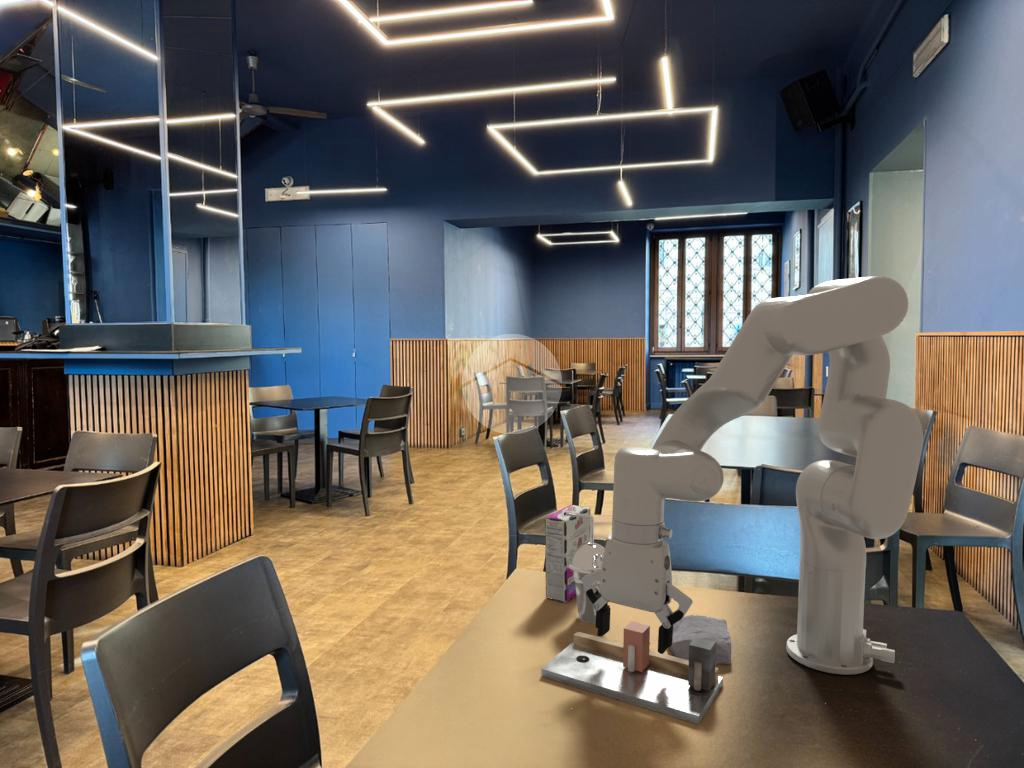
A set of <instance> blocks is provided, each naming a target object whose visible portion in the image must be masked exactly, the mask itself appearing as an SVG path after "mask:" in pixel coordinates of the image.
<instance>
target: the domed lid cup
mask: <svg viewBox="0 0 1024 768" xmlns="http://www.w3.org/2000/svg"><path fill="white" fill-rule="evenodd" d="M564 516H573V517H582V518H589V519H590V543H585V544H583V545H581V546H579V547H578V548H577V549H576V551H575V552H574V554H573V557H572V558H570V559H569V563H568V567H569V568H570V569H571V570H572V574H573V579H574V581H575V591H576V596H575V598H576V608H577V609H576V611H577V613H578V617H577V618H578V619H579V620H580V622H583V623H588V624H596V610H595V609H594V608H593V603H592V602H591V601H590V599H589V598H588V597H587V595H586V590H585V588H584V586H583V583H582V580H581V578H582V577H583V576H585V575H587V574H590V573H593V572H596V571H599V570H601V569H602V562H603V556H604V551H605V547H604V546H602V544H599V543H597V542H595V541H594V540H595V518H594V516H593V515H592V514H591V513H590V514H581V513H572V512H564ZM594 585H595V588H596V589H597V590H598V591H599V593H600V580H598V581H595V582H594ZM600 594H601V593H600Z"/></svg>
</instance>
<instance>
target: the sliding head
mask: <svg viewBox="0 0 1024 768" xmlns="http://www.w3.org/2000/svg"><path fill="white" fill-rule="evenodd" d="M650 634H651V625H648V624H645V623H640V622H636V621H630V622H629V623H628V624H626V626H625V627H623V667H625V668H628V671H629V672H634V671H635V670H636V671H640V672H643V670H644V669H645V668H646V667H647V666H648V665H649V650H650V646H651V645H650V643H651V639H650V638H651V636H650Z"/></svg>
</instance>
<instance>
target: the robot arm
mask: <svg viewBox="0 0 1024 768" xmlns="http://www.w3.org/2000/svg"><path fill="white" fill-rule="evenodd" d="M908 309H909V297H908V294H907V292H906V291H905V288H904V287H903V286H902V285H901V283H899V282H898V281H896V280H895V279H893V278H890V277H887V276H884V275H883V276H882V275H875V276H874V275H870V276H861V277H853V278H851V277H850V278H841V279H834V280H828V281H824V282H821V283H819V284H817V285H815V286H814V287H812V288H811V289H810V290H809V291H808V293H807V294H805V295H796V296H784V297H781V296H780V297H773V298H769V299H765V300H763V301H761V302H759V303H757V304H756V306H755V307H753V309H751V311H750V312H749V314H748V316H747V317H746V319H745V320H744V322H743V324H742V325H741V326H740V329H739V330H738V332H737V333H736V335H735V337H734V339H733V341H732V342H731V344H730V346H729V347H728V349H727V351H726V352H725V354H724V355H723V357H722V358H721V360H720V362H719V363H718V365H717V366H716V368H715V370H714V371H713V373H712V374H711V376H710V377H709V379H708V380H707V381H706V382H705V383H703V384H702V385H701V386H700V387H699V388H697V389H696V390H695V391H694V392H693V393H692V394H691V395H690V396H689V397H688V398H687V399H686V400H685V401H684V402H683V403H682V404H681V405H680V406H678V408H677V409H676V411H674V413H673V414H672V415H671V416H670V418H669V420H667V422H666V424H665V425H664V427H663V429H662V431H661V432H660V434H659V435H658V437H657V439H656V441H655V442H654V445H652V448H650V447H641V446H635V447H633V446H632V447H624V448H620V449H619V450H618V451H617V452H616V454H615V455H614V463H613V467H614V468H613V488H612V489H613V491H612V513H611V514H612V515H611V516H612V518H611V519H612V520H611V521H612V523H611V533H610V534H609V535H608V536H607V538H606V542H605V543H606V544H605V547H604V548H605V551H604V556H603V562H602V569H601V570H599V571H596V572H593V573H590V574H587V575H585V576H583V577H582V578H581V580H582V583H583V586H584V588H585V590H586V595H587V597H588V598H589V599H590V601H591V602H592V603H593V608H594V609H595V610H596V623H595V628H597V633H596V634H597V635H596V636H597V637H601V638H603V637H604V636H605V635H606V634H607V633H608V632H610V629H611V627H610V626H611V606H610V605H609V604H608V603H613V604H615V605H621V606H624V607H628V608H633V609H636V610H639V611H640V610H641V611H644V612H648V613H649V612H650V613H654V614H655V616H656V618H657V619H658V620H659V622H660V624H661V625H660V626H659V627H658V633H657V634H658V637H657V652H658V653H660V654H665V653H666V651H667V650H668V649H670V647H671V645H672V640H673V625H674V624H675V623H676V622H678V621H679V620H681V619H682V618H683V617H684V616H686V615H687V612H688V611H689V609H690V608H691V606H692V605H693V603H694V601H693V599H692V598H691V597H689V596H688V595H687V594H685V593H684V592H683V591H681V590H680V589H679V588H677V587H676V586H675V585H673V575H672V573H673V572H672V570H673V569H672V559H671V552H670V545H669V542H668V541H667V540H664V539H672V537H673V529H672V528H668V527H666V525H665V523H666V522H665V521H664V517H665V499H670V500H672V499H673V500H678V501H684V502H692V503H693V502H695V503H696V502H705V501H707V500H710V499H712V498H713V497H715V496H716V495H717V494H718V493H719V492H720V490H721V488H722V487H723V484H724V479H725V478H724V476H725V475H724V470H723V468H722V466H721V464H720V463H719V461H718V460H717V459H716V458H715V457H713V456H712V455H711V454H709V453H707V452H704V451H702V449H703V448H704V446H705V445H706V443H707V442H708V441H709V439H710V438H711V437H712V436H713V434H714V433H716V432H717V431H718V430H720V428H721V427H724V426H725V425H727V424H728V423H729V422H731V421H734V420H736V419H738V418H741V417H744V416H747V415H749V414H750V413H753V412H754V411H756V410H757V409H759V408H760V407H762V405H763V404H764V403H765V402H766V400H767V398H768V397H769V394H770V393H771V391H772V389H773V388H774V386H775V385H776V383H777V382H778V380H779V378H780V376H781V374H782V373H783V371H784V369H785V368H786V366H787V365H788V363H789V362H790V360H791V358H792V357H793V355H795V356H815V355H819V354H824V353H828V357H829V366H828V367H829V368H828V375H827V381H826V385H825V390H824V393H823V394H824V395H823V400H822V404H821V410H820V414H819V419H818V430H817V433H818V437H819V439H820V441H821V443H822V444H823V445H824V446H826V447H827V448H828V449H830V450H831V451H834V452H836V453H840V454H843V455H847V456H850V457H854V458H855V465H854V464H849V463H846V462H842V461H838V460H831V459H830V460H829V459H827V460H826V459H823V460H822V459H821V460H818V461H814V462H812V463H810V464H809V465H807V466H806V467H805V468H804V469H803V470H802V471H801V472H800V474H799V476H798V477H797V478H798V479H797V482H796V486H795V499H796V500H795V501H796V507H797V513H798V519H799V533H800V534H799V535H800V536H799V537H800V538H799V539H800V540H799V541H800V542H799V544H800V546H799V567H798V568H799V569H798V570H799V571H798V572H799V573H798V593H797V594H798V595H797V597H798V598H797V599H798V601H797V623H796V624H797V625H796V631H797V632H796V634H793V635H792V636H790V637H788V639H786V646H785V649H786V652H787V654H788V655H789V656H790V658H792V659H793V660H795V661H797V662H798V663H799V664H801V665H803V666H804V667H808V668H810V669H813V670H816V671H820V672H824V673H827V674H834V675H847V676H848V675H859V674H863V673H865V672H867V671H869V670H870V669H871V668H872V667H873V664H874V659H876V660H880V661H883V662H886V663H887V662H888V663H890V664H891V663H892V664H894V663H895V655H896V650H895V649H891V648H887V647H888V643H886V642H879V641H873V640H871V638H869V637H867V629H864V613H865V612H864V610H865V591H866V587H865V586H866V585H865V584H866V568H867V548H866V541H865V538H867V539H872V540H882V539H887V538H888V537H891V536H893V535H894V534H896V533H897V532H898V531H899V530H900V529H901V527H902V526H903V524H904V523H905V521H906V520H907V519H906V518H907V516H908V514H909V510H910V507H911V503H912V499H913V494H914V489H915V486H916V480H917V475H918V471H919V467H920V462H921V459H922V458H921V457H922V452H923V445H924V431H923V425H922V422H921V421H920V418H919V417H918V416H919V415H918V414H917V413H916V412H915V411H914V409H912V407H910V406H909V405H907V404H905V403H903V402H902V401H899V400H895V399H889V398H887V393H888V385H889V379H890V373H891V372H890V371H891V357H890V354H889V349H888V347H887V344H886V342H885V339H884V337H883V336H884V335H886V334H890V332H892V331H894V330H895V329H897V328H898V327H899V326H900V325H901V323H902V322H903V321H904V319H905V318H906V316H907V312H908ZM598 580H600V593H601V594H600V593H599V591H598V590H597V589H596V588H595V585H594V582H595V581H598ZM672 600H674V601H675V602H676V603H677V604H678V607H677V609H676V610H675V611H673V609H672V608H671V607H670V605H669V604H670V603H671V602H672Z"/></svg>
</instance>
